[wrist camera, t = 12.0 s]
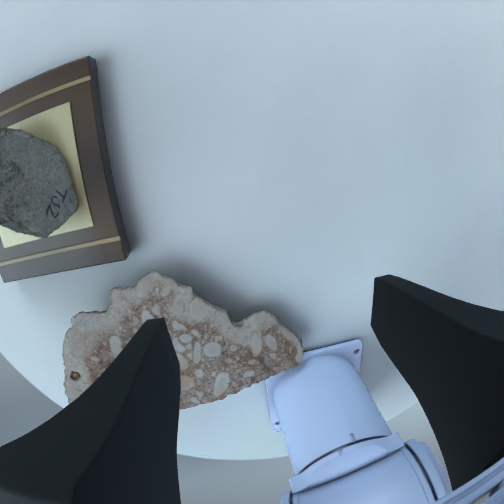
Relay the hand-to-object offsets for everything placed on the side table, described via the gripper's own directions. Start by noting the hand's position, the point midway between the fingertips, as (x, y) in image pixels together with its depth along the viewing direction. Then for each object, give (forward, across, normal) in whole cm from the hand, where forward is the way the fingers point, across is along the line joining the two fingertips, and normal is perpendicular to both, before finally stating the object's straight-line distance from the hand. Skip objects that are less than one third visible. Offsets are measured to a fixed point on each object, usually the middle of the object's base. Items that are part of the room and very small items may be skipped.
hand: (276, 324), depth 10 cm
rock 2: (+10, +6, +6) cm, 13 cm away
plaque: (+9, +12, -6) cm, 16 cm away
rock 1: (+8, +12, -6) cm, 15 cm away
